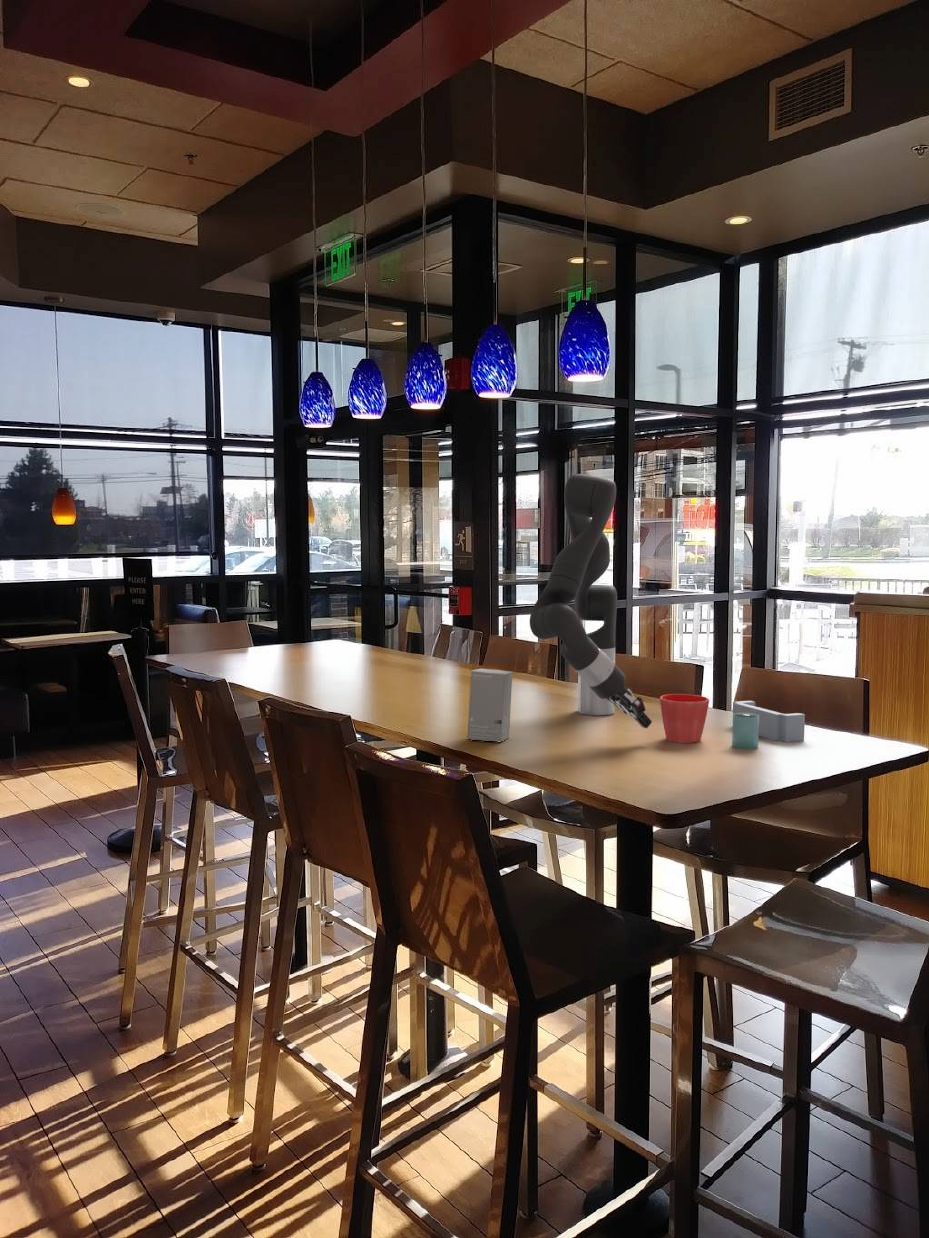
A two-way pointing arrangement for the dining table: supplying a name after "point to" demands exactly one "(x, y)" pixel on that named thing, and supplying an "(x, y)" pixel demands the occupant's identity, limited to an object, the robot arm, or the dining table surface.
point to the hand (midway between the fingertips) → (647, 724)
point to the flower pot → (684, 717)
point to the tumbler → (745, 730)
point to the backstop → (774, 722)
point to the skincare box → (489, 705)
